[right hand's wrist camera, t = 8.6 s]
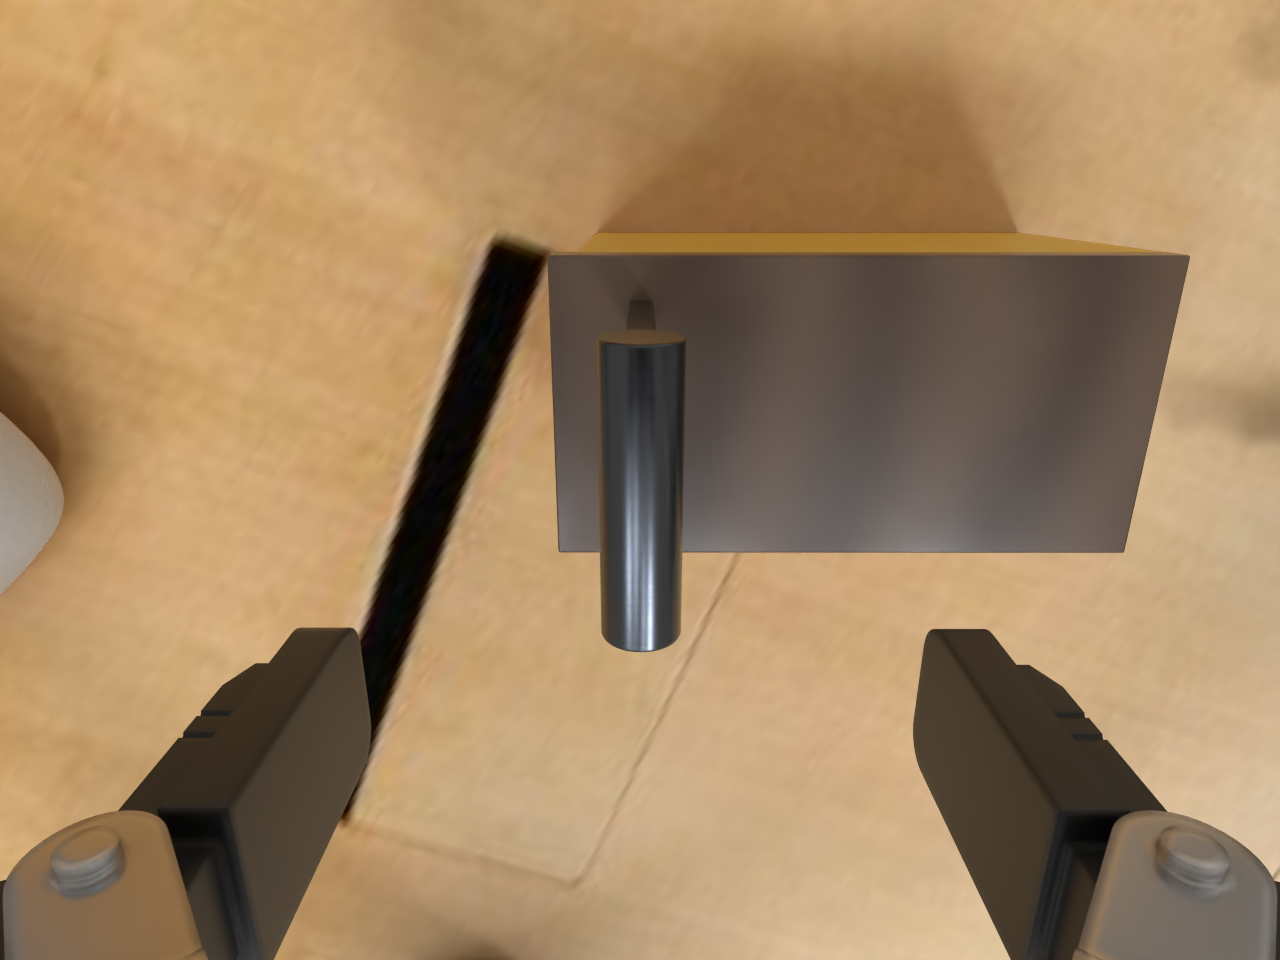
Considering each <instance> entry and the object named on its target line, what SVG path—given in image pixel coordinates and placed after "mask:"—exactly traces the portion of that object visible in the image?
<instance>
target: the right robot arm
mask: <svg viewBox="0 0 1280 960" xmlns="http://www.w3.org/2000/svg"><path fill="white" fill-rule="evenodd" d="M370 739H371V720H370V712H369V705H368V697H367V690H366V683H365V675H364V668H363V661H362V653H361V646H360V640H359V637H358V634H357V632H356V631H355V630H354V629H353V628H297V629H296V630H295V631H294V632H293V633H292V634H291V635H290V636H289V638H288V639H287V640H286V642H285V643H284V644H283V646H282V647H281V648H280V649H279V651H278V652H277V653H276V655H275V656H274V657H273V658H272V660H271V661H270V662H269V663H256V664H254V665H253V666H251V667H250V668H248V669H247V670H245V671H243V672H242V673H240V674H239V675H237V676H236V677H234V678H233V679H231V680H230V681H228V682H227V683H225V684H224V685H222V686H221V688H220V689H219V690H218V691H217V692H216V694H215V695H214V696H213V697H212V698H211V700H210V701H209V702H208V703H207V704H206V706H205V707H204V708H203V709H202V710H201V716H197V717H196V718H195V719H194V720H193V721H192V723H191V724H190V725H189V726H188V727H187V729H186V730H185V731H184V732H183V738H178V739H177V741H176V742H175V743H174V744H173V745H172V747H171V748H170V749H169V750H168V751H167V753H166V754H165V755H164V756H163V757H162V759H161V760H160V761H159V762H158V763H157V765H156V766H155V767H154V768H153V769H152V771H151V772H150V773H149V774H148V775H147V777H146V778H145V779H144V780H143V781H142V783H141V784H140V785H139V786H138V788H137V789H136V790H135V791H134V792H133V794H132V795H131V796H130V797H129V798H128V800H127V801H126V802H125V803H124V804H123V806H122V807H121V808H120V809H119V810H118V811H116V812H109V813H105V814H101V815H96V816H93V817H90V818H87V819H84V820H82V821H79V822H77V823H74V824H72V825H70V826H68V827H66V828H64V829H62V830H60V831H58V832H56V833H54V834H53V835H51V836H50V837H48V838H46V839H45V840H43V841H42V842H41V843H39V844H38V845H37V846H35V847H34V848H33V849H31V850H30V851H29V852H28V853H27V854H26V855H25V856H24V857H23V858H22V859H21V860H20V861H19V862H18V863H17V865H16V866H15V867H14V868H13V870H12V871H11V873H10V874H9V876H8V877H7V880H4V881H0V960H274V958H275V956H276V954H277V951H278V949H279V947H280V945H281V943H282V941H283V939H284V937H285V934H286V932H287V930H288V928H289V926H290V924H291V922H292V920H293V918H294V915H295V913H296V911H297V909H298V907H299V905H300V903H301V901H302V898H303V896H304V894H305V892H306V890H307V888H308V886H309V884H310V881H311V879H312V877H313V875H314V873H315V871H316V869H317V867H318V865H319V862H320V860H321V858H322V856H323V854H324V852H325V850H326V848H327V845H328V843H329V841H330V839H331V837H332V835H333V833H334V831H335V828H336V826H337V824H338V822H339V820H340V818H341V816H342V814H343V812H344V809H345V807H346V805H347V803H348V801H349V799H350V797H351V795H352V792H353V790H354V788H355V786H356V784H357V782H358V780H359V778H360V775H361V773H362V771H363V769H364V767H365V764H366V761H367V757H368V753H369V747H370ZM913 739H914V748H915V754H916V758H917V762H918V765H919V768H920V770H921V772H922V775H923V777H924V779H925V781H926V783H927V785H928V787H929V789H930V791H931V793H932V795H933V798H934V800H935V802H936V804H937V806H938V808H939V810H940V812H941V814H942V816H943V819H944V821H945V823H946V825H947V827H948V829H949V831H950V833H951V835H952V837H953V839H954V842H955V844H956V846H957V848H958V850H959V852H960V854H961V856H962V858H963V860H964V863H965V865H966V867H967V869H968V871H969V873H970V875H971V877H972V879H973V881H974V883H975V886H976V888H977V890H978V892H979V894H980V896H981V898H982V900H983V902H984V904H985V907H986V909H987V911H988V913H989V915H990V917H991V919H992V921H993V923H994V925H995V927H996V930H997V932H998V934H999V936H1000V938H1001V940H1002V942H1003V944H1004V946H1005V948H1006V950H1007V953H1008V955H1009V957H1010V959H1011V960H1280V882H1277V881H1274V880H1273V877H1272V876H1271V874H1270V873H1269V871H1268V870H1267V868H1266V867H1265V866H1264V865H1263V863H1262V862H1261V861H1260V860H1259V859H1258V858H1257V857H1256V856H1255V855H1254V854H1253V853H1252V852H1251V851H1250V850H1249V849H1247V848H1246V847H1245V846H1243V845H1242V844H1241V843H1239V842H1238V841H1237V840H1235V839H1234V838H1232V837H1230V836H1229V835H1227V834H1226V833H1224V832H1222V831H1220V830H1218V829H1216V828H1214V827H1212V826H1210V825H1208V824H1206V823H1203V822H1201V821H1198V820H1196V819H1193V818H1190V817H1187V816H1184V815H1179V814H1175V813H1171V812H1167V811H1166V810H1165V808H1164V807H1163V806H1162V805H1161V804H1160V802H1159V801H1158V800H1157V799H1156V798H1155V796H1154V795H1153V794H1152V793H1151V792H1150V790H1149V789H1148V788H1147V787H1146V786H1145V784H1144V783H1143V782H1142V781H1141V780H1140V778H1139V777H1138V776H1137V775H1136V774H1135V773H1134V771H1133V770H1132V769H1131V768H1130V767H1129V765H1128V764H1127V763H1126V762H1125V761H1124V759H1123V758H1122V757H1121V756H1120V755H1119V753H1118V752H1117V751H1116V750H1115V749H1114V747H1113V746H1112V745H1111V744H1110V743H1109V742H1108V740H1103V737H1102V733H1101V732H1100V731H1099V730H1098V728H1097V727H1096V726H1095V725H1094V724H1093V722H1092V721H1091V720H1090V719H1089V718H1085V716H1084V712H1083V711H1082V709H1081V708H1080V707H1079V706H1078V705H1077V703H1076V702H1075V701H1074V700H1073V699H1072V697H1071V696H1070V695H1069V694H1068V693H1067V691H1066V690H1065V689H1064V688H1063V687H1062V686H1060V685H1059V684H1057V683H1056V682H1054V681H1053V680H1051V679H1050V678H1048V677H1047V676H1045V675H1044V674H1042V673H1041V672H1039V671H1038V670H1036V669H1035V668H1033V667H1031V666H1030V665H1016V664H1015V663H1014V661H1013V660H1012V659H1011V657H1010V656H1009V655H1008V654H1007V652H1006V651H1005V650H1004V648H1003V647H1002V646H1001V645H1000V643H999V642H998V641H997V639H996V638H995V637H994V636H993V634H992V633H991V632H990V631H988V630H986V629H932V630H930V631H929V633H928V634H927V636H926V639H925V643H924V649H923V656H922V664H921V671H920V678H919V686H918V693H917V700H916V707H915V715H914V723H913Z"/></svg>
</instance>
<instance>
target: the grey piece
mask: <svg viewBox="0 0 1280 960" xmlns="http://www.w3.org/2000/svg"><path fill="white" fill-rule="evenodd" d="M63 508H64V495H63V489H62V485H61V483H60V480H59V478H58V476H57V474H56V472H55V471H54V469H53V467H52V465H51V464H50V463H49V461H48V460H47V459H46V457H45V456H44V455H43V454H42V453H41V451H40V450H39V449H38V448H37V447H36V446H35V445H34V443H33V442H32V441H31V440H30V439H29V438H28V437H27V436H26V435H25V434H24V433H23V432H22V431H21V430H20V429H19V428H18V427H17V426H15V425H14V424H13V423H12V422H11V421H10V420H9V419H8V418H7V417H6V416H5V415H3V414H2V413H1V412H0V595H1V594H2V593H3V592H4V591H5V590H6V589H7V588H8V587H9V586H10V585H11V584H12V583H13V582H14V581H15V580H16V579H17V578H18V577H19V576H20V575H21V574H22V572H23V571H24V570H25V569H26V568H27V567H28V566H29V565H30V563H31V562H32V561H33V560H34V559H35V558H36V556H37V555H38V554H39V553H40V552H41V550H42V549H43V547H44V546H45V545H46V543H47V542H48V541H49V539H50V538H51V536H52V534H53V533H54V531H55V529H56V528H57V526H58V524H59V521H60V519H61V516H62V513H63Z"/></svg>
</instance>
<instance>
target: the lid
mask: <svg viewBox="0 0 1280 960" xmlns="http://www.w3.org/2000/svg"><path fill="white" fill-rule="evenodd" d="M1189 259H1190V256H1188V255H1182V254H1175V253H1167V252H553V253H551V254H550V255H549V256H548V283H549V309H550V336H551V363H552V389H553V416H554V442H555V469H556V495H557V522H558V548H559V552H600V577H601V630H602V635H603V637H604V639H605V640H606V641H607V642H608V643H609V644H611V645H612V646H614V647H616V648H619V649H622V650H626V651H632V652H650V651H656V650H660V649H663V648H666V647H668V646H670V645H671V644H673V643H674V642H675V641H676V640H677V639H678V637H679V635H680V632H681V587H682V552H918V553H1123V552H1124V549H1125V545H1126V541H1127V536H1128V532H1129V527H1130V523H1131V518H1132V514H1133V509H1134V505H1135V500H1136V496H1137V491H1138V487H1139V483H1140V478H1141V474H1142V469H1143V465H1144V460H1145V456H1146V451H1147V447H1148V442H1149V438H1150V433H1151V429H1152V424H1153V420H1154V416H1155V411H1156V407H1157V402H1158V398H1159V393H1160V389H1161V384H1162V380H1163V375H1164V371H1165V366H1166V362H1167V358H1168V353H1169V349H1170V344H1171V340H1172V335H1173V331H1174V326H1175V322H1176V317H1177V313H1178V308H1179V304H1180V299H1181V295H1182V291H1183V286H1184V282H1185V277H1186V273H1187V268H1188V264H1189Z"/></svg>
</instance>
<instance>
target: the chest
mask: <svg viewBox="0 0 1280 960" xmlns="http://www.w3.org/2000/svg"><path fill="white" fill-rule="evenodd" d="M579 252H1160V251H1152V250H1145V249H1137V248H1129V247H1122V246H1114V245H1107V244H1099V243H1092V242H1084V241H1077V240H1069V239H1062V238H1054V237H1046V236H1039V235H1031V234H1023V233H596V234H594V236H593V237H592V238H591V239H590V240H589V241H588V242H587V243H586V244H585V246H584V247H583V248H582V249H581V250H580V251H579Z"/></svg>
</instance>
